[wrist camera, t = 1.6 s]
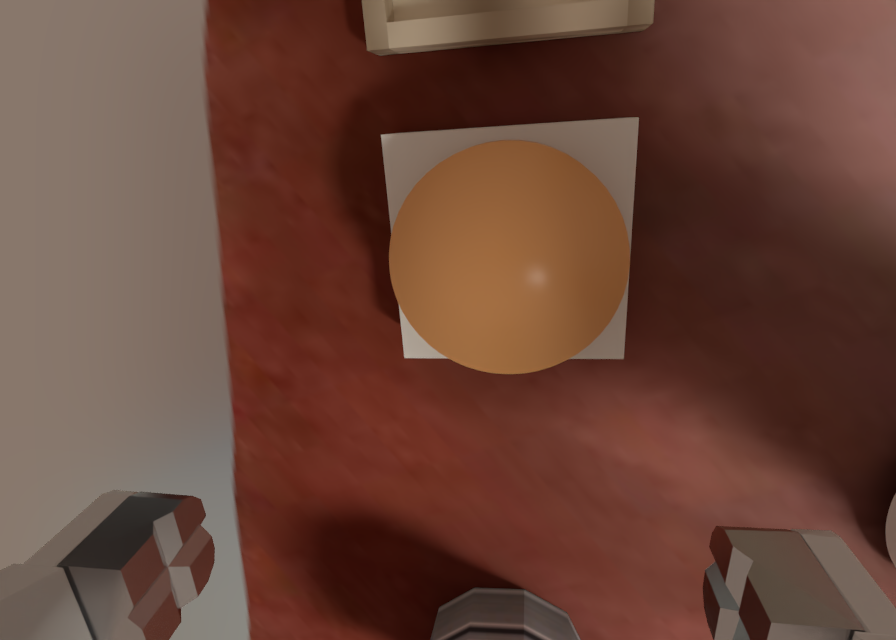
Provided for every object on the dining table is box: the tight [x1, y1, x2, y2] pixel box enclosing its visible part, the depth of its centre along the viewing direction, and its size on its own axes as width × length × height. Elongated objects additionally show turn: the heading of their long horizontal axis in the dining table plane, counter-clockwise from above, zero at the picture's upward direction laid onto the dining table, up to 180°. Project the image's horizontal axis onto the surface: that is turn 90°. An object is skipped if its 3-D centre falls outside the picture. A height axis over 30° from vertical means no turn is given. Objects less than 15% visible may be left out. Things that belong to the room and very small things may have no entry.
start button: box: [389, 140, 630, 374], centre depth 22 cm, size 10×10×2 cm
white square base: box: [381, 117, 639, 359], centre depth 25 cm, size 11×11×3 cm
